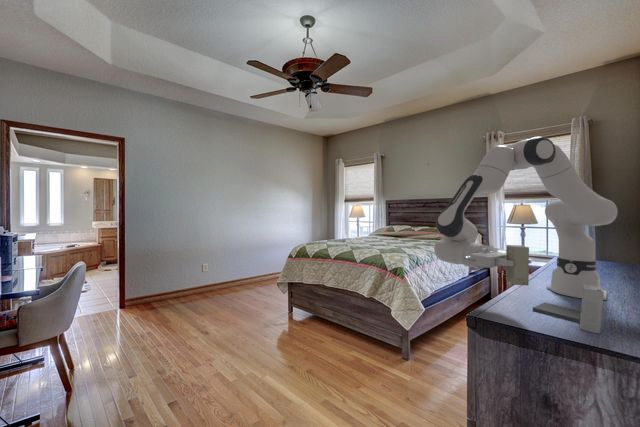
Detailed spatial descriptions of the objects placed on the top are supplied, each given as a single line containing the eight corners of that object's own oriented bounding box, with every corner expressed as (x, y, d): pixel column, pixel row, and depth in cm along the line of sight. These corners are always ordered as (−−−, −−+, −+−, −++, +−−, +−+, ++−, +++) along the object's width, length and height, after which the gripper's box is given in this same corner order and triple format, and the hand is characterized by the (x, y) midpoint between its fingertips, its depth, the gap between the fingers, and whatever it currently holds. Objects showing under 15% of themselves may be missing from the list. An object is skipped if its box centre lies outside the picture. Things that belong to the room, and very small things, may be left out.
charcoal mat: (544, 305, 105) (544, 302, 105) (588, 316, 95) (588, 313, 95) (532, 310, 99) (532, 307, 99) (578, 322, 89) (578, 319, 89)
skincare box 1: (528, 286, 92) (530, 247, 92) (513, 285, 93) (514, 246, 93) (519, 281, 99) (520, 244, 98) (504, 280, 99) (506, 244, 99)
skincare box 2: (579, 323, 88) (581, 283, 88) (600, 328, 85) (602, 286, 85) (580, 330, 83) (582, 287, 83) (602, 334, 81) (604, 291, 80)
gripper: (461, 249, 100) (505, 255, 89) (491, 245, 112) (533, 250, 100) (460, 267, 101) (504, 276, 89) (490, 261, 112) (532, 268, 101)
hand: (520, 262), depth 95 cm, fingers closed on skincare box 1, 7 cm apart
